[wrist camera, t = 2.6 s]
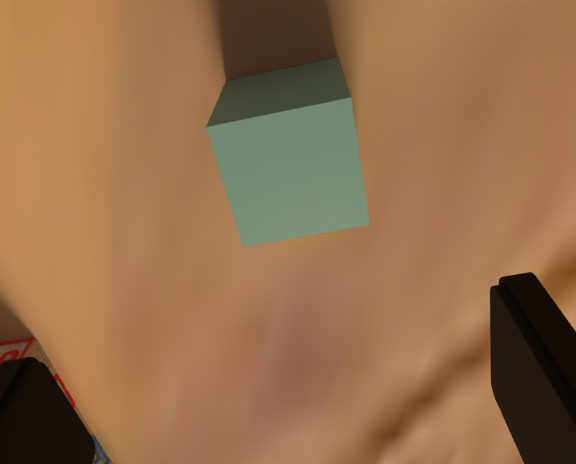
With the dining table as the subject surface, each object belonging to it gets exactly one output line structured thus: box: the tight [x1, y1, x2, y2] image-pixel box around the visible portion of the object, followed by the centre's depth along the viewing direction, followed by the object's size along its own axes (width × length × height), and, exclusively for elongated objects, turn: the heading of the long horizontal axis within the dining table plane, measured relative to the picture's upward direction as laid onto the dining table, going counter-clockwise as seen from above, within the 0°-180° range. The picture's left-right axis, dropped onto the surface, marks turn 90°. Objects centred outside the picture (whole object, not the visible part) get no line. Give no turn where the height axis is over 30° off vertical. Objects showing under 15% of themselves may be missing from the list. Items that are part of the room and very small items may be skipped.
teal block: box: [206, 57, 370, 247], centre depth 21 cm, size 5×5×6 cm
